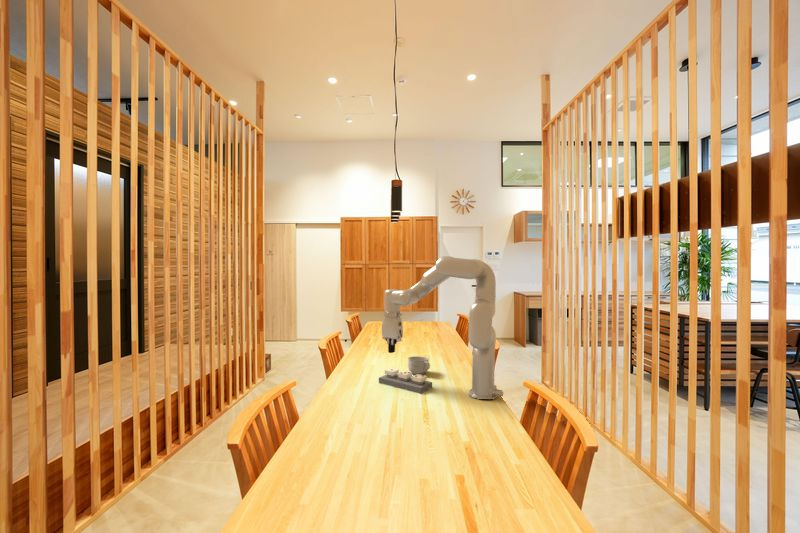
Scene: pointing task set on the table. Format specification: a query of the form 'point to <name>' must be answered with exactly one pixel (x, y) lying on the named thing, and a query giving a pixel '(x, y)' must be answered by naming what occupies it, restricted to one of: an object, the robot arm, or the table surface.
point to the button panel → (405, 384)
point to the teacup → (418, 364)
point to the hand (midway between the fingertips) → (391, 352)
